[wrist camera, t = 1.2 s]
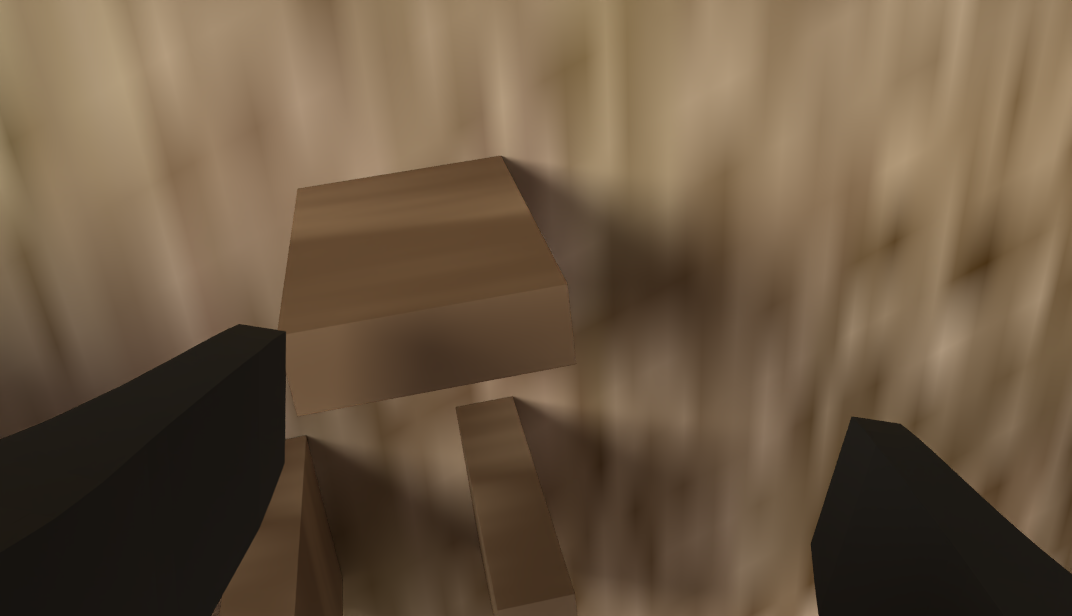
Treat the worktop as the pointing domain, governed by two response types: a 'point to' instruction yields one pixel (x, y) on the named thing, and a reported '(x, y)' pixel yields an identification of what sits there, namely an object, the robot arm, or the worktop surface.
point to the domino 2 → (418, 287)
